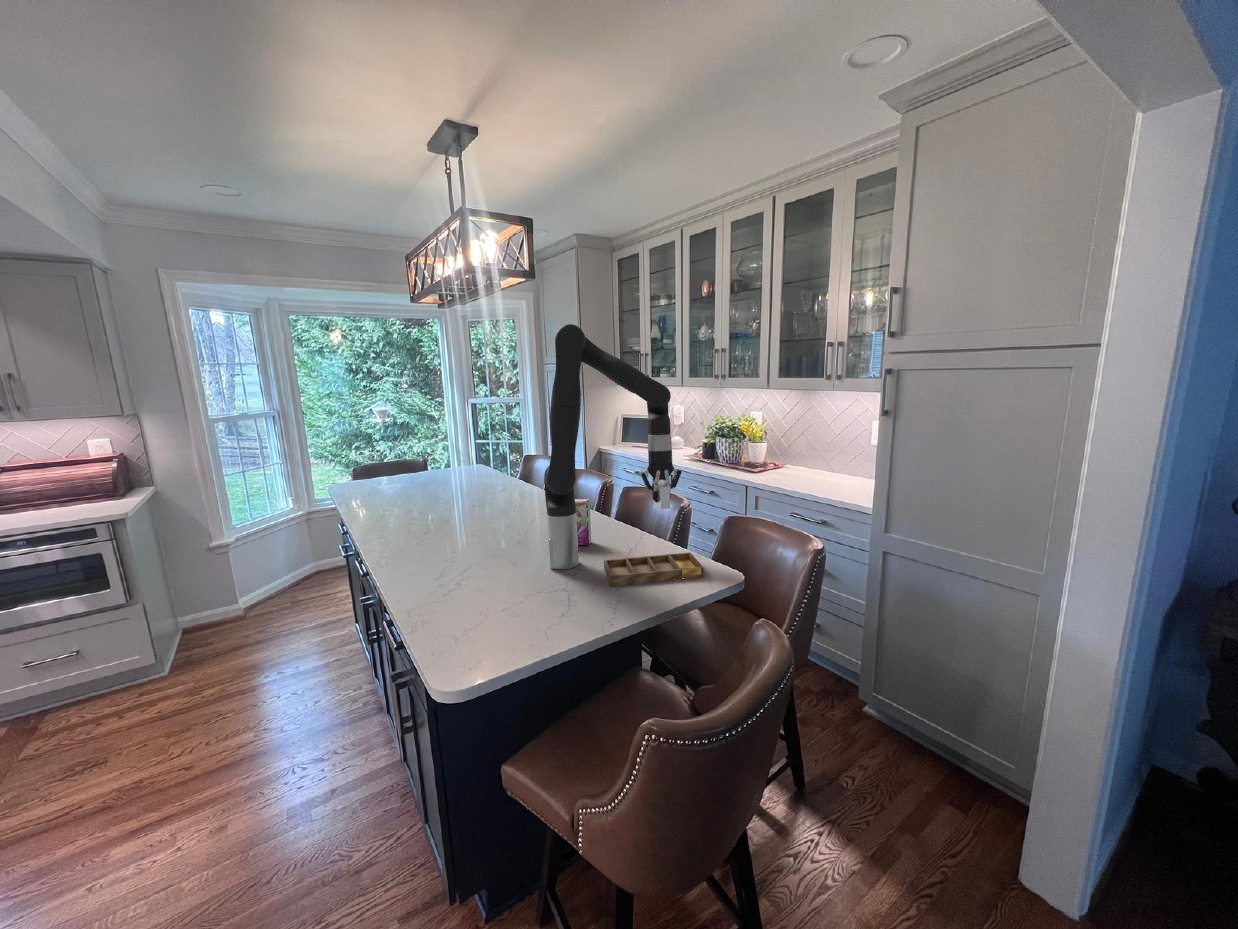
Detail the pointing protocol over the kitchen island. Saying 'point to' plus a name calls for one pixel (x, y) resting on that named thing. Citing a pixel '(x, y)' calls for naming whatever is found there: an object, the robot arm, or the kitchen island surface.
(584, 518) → the candy bar box
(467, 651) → the kitchen island surface
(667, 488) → the panel
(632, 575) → the rack
